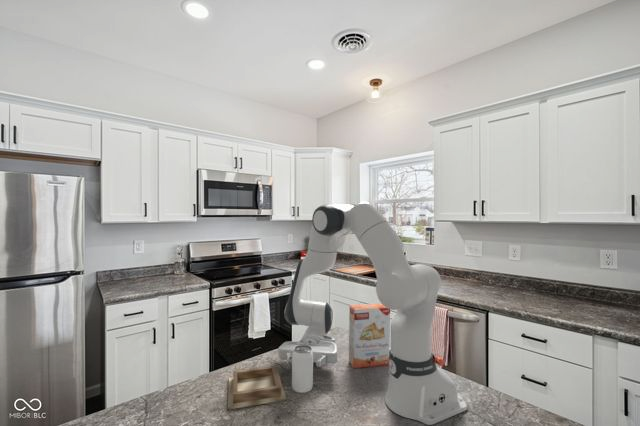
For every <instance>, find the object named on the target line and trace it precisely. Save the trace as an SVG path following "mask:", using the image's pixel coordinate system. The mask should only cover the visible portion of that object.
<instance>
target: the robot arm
mask: <svg viewBox="0 0 640 426" xmlns="http://www.w3.org/2000/svg"><path fill="white" fill-rule="evenodd" d="M311 220H312V221H311V222H312V225H311V229H310V232H309V233H310V234H309V237H308V238H309V239H308V245H307V251H306V252H307V253H306V254H305V257H304V258H302V259H300V261H299V262H298V263H297V267H296V269H295V272H294V276H293V280H292V284H291V288H290V292H289V296H288V299H287V303H286V305H285V309H284V319H285V320H286V322H287V323H288V324H289V325H291V326H292V325H293V326H294V325H295V326H305V327H307V328H306V330H304V333H303V335H302V337H301V338H300V340H299V341H291V340H290V341H285V342H283V343H282V344H281V345H280V346H279V347H278V349H277V358H278V359H279V360H281V361H283V360H284V361H286V364H287V365H291V366H292V354H293V351H294V348H295V347H296V346H299V345H307V346H310V347H311V348H312V353H313V363H315V366H316V367H317V368H321V367H322V366H323V365H325V364H332V365H334V364H336V363H338V345H337V343H336V338H335V337H332V336H328V333H329V332H330V331H331V328H332V324H333V316H334V315H333V314H334V313H333V312H334V311H333V309H332V307H331V306H330V304H329V303H328V302H325V301H318V300H311V299H304V298H302V297H301V294H302V290H303V288H304V282H305V280H306V279H307V278H308V277H311V276H314V275H318V274H322V273H325V272H327V271H329V270H330V269H332V268H333V267H334V265H335V264H336V260H337V255H338V242H339V239H340V237H341V236H347V235H353V234H354V236H355V237H356V239H357V241H358V242H359V244H360V245H361V246H362V248H363V249H364V252H365V253H366V255H367V256H368V258H369V259H370V261H371V263H372V266H373V268H374V271H375V276H376V285H375V293H376V296H377V299H378V300H379V302H380V304H383V305H384V306H385V307H386V308H388V309H390V311H391V310H393V311H396V312H395V314H394V317H393V318H392V320H391V322H390V349H389V366H388V369H389V370H388V371H389V378H388V385H387V390H386V393H385V397H384V402H385V404H386V406H387V407H388V408H389V409H390V411H392V412H394V414H396V415H399V416H400V417H403V418H406V419H411V420H415V421H418V422H421V423H423V424H425V425H428V426H432V425H436V424H437V423H439V422H442V421H444V420H446V419H449V418H451V417H453V416H456V415H458V414H460V413H463V412H466V411H467V410H468V405H467V403H466V401H465V400H464V398H463V397H462V396H461V395H460V394H459V393H458V390H457V385H456V384H455V382H454V381H453V378H451V377H450V376H449V375H448V374H446V373H445V372H444V371H442V369H440V368H439V367H443V366H444V364H445V360H444V359H443V358H441V357H440V356H438V355H437V356H436V355H435V354H434V353H432V327H433V319H434V315H435V309H436V305H437V299H438V295H439V292H440V290H441V289H442V284H443V282H442V278H441V275H440V273H439V272H438V270H436V269H435V268H434V267H432V266H430V265H426V264H421V263H416V264H410V263H409V262H408V259H407V257H406V255H405V252H404V249H403V247H404V243H403V240H402V239H401V238H400V236H399V235H398V233H396V231H395V230H394V229H393V227H392V225H391V224H390V223H389V221H388V220H387V219H386V218H385V216H384V215H383V214H382V213H381V212H380V211H379V210H378V209H377V208H376V207H375V206H374V205H373V204H371V203H370V202H368V201H361V202H359V203H357V204H345V203H344V204H343V203H332V204H323V205H320V206H318V207H316V209H315V210H314V211H313V214H312V219H311ZM436 364H437V365H438V366H439V367H438V366H437V365H436Z"/></svg>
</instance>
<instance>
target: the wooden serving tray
mask: <svg viewBox="0 0 640 426" xmlns="http://www.w3.org/2000/svg"><path fill="white" fill-rule="evenodd" d="M232 372H233V374H232V376H230V377H228V398H227V400H228V402H227V410H233V409H234V410H235V409H240V408H247V407H253V406H258V405H259V406H260V405H263V404H270V403H277V402H283V401H286V400H287V397H286V394H285V391H284V390H285V389H284V386H283V384H282V380H281V376H280V373H279V371H278V370H277V368H276V366H275V365H272V366H264V367H257V368H249V369H239V370H234V371H232Z"/></svg>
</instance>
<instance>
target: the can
mask: <svg viewBox="0 0 640 426" xmlns="http://www.w3.org/2000/svg"><path fill="white" fill-rule="evenodd" d="M313 374H314V362H313V353H312V348H311V347H310V346H307V345H299V346H296V347H295V348H294V351H293V354H292V365H291V389H292V390H293V392H295V393H297V394H306V393H309V392H310V391H312V389H313V386H314V385H313V383H314V382H313V381H314V375H313Z"/></svg>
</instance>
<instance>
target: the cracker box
mask: <svg viewBox="0 0 640 426" xmlns="http://www.w3.org/2000/svg"><path fill="white" fill-rule="evenodd" d="M348 316H349V317H348V319H349V321H348V323H349V324H348V327H349V328H348V362H349V364H350V365H351V366H352V368H353V369H359V368H368V367H379V366H388V365H389V351H390V349H391V309H388V308H386V307H385V306H384V305H383V304H382V303H372V304H371V303H370V304H367V303H366V304H354V305H353V304H351V305H349V315H348Z"/></svg>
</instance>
